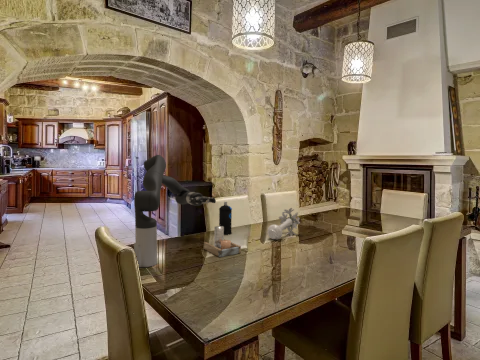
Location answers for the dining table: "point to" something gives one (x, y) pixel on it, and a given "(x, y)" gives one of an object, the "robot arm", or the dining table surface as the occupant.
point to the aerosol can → (225, 218)
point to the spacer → (225, 244)
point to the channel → (225, 252)
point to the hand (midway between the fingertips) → (208, 201)
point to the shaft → (218, 236)
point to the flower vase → (284, 225)
